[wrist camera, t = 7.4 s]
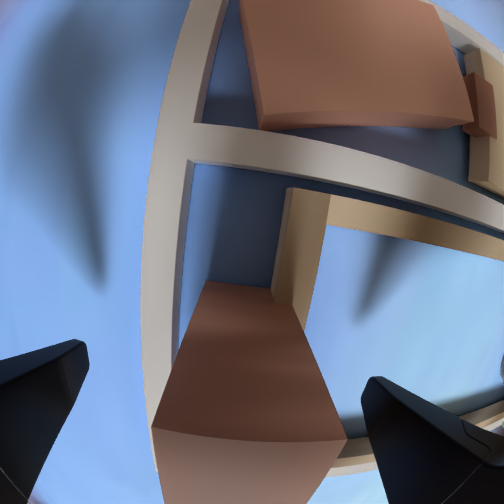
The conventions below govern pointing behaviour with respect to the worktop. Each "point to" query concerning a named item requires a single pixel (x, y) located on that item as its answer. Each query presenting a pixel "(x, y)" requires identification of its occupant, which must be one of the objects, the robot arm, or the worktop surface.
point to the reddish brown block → (351, 65)
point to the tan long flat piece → (485, 120)
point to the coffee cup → (502, 370)
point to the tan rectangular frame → (274, 369)
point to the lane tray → (259, 159)
